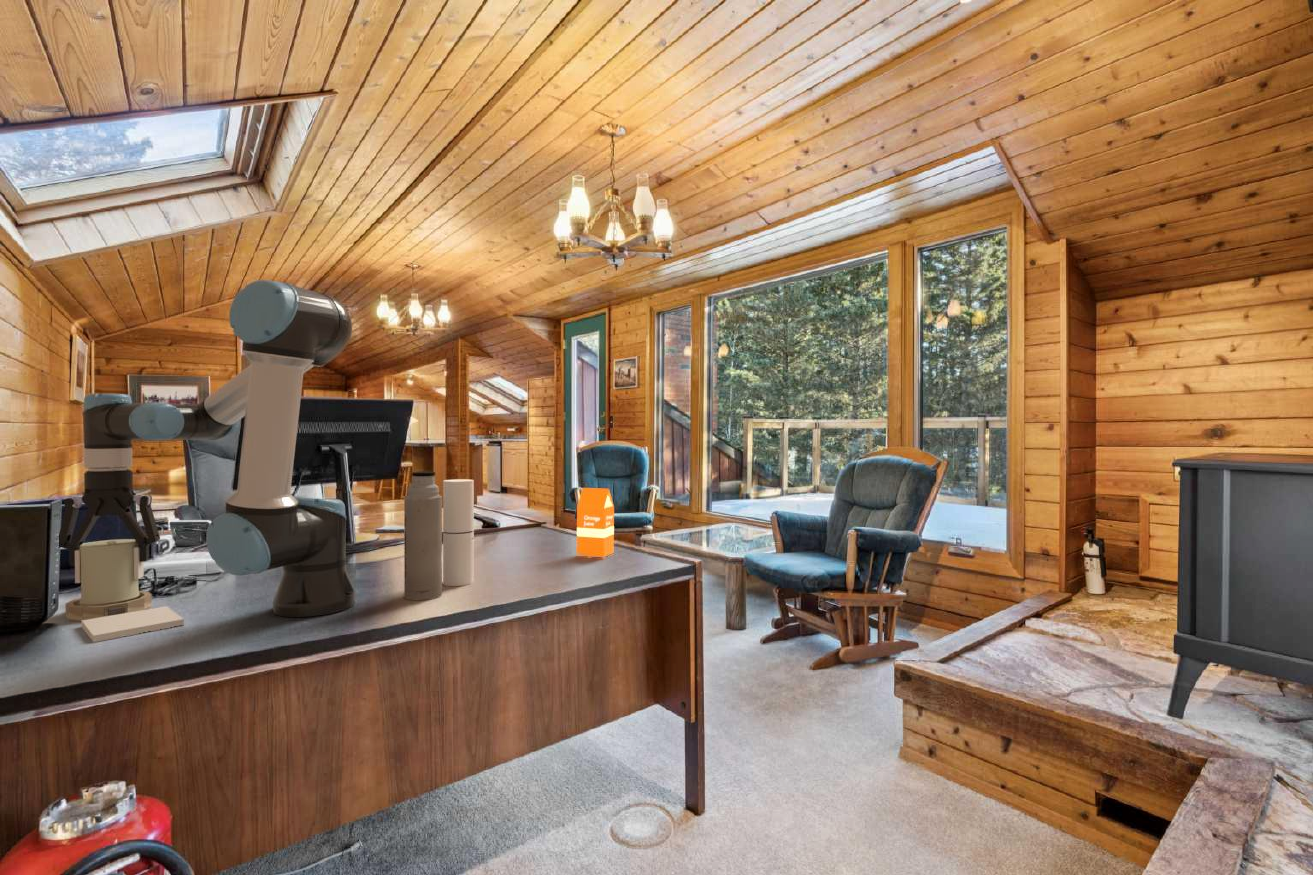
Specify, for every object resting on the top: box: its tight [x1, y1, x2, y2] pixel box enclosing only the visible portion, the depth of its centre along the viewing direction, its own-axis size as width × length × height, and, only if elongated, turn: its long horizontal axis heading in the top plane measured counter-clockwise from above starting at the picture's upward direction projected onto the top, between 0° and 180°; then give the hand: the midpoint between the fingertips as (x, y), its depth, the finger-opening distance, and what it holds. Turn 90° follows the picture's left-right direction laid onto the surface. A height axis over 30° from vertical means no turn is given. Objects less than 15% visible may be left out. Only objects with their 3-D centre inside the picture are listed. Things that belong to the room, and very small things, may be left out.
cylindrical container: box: [442, 478, 475, 587], centre depth 156 cm, size 7×7×25 cm
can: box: [80, 538, 140, 605], centre depth 131 cm, size 9×9×12 cm
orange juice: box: [576, 487, 615, 557], centre depth 191 cm, size 8×9×20 cm
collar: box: [64, 590, 152, 622], centre depth 131 cm, size 16×13×2 cm
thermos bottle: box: [403, 470, 443, 601], centre depth 144 cm, size 8×8×28 cm
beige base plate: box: [80, 606, 185, 643], centre depth 121 cm, size 13×13×1 cm
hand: (110, 579), depth 131 cm, fingers closed on can, 9 cm apart
